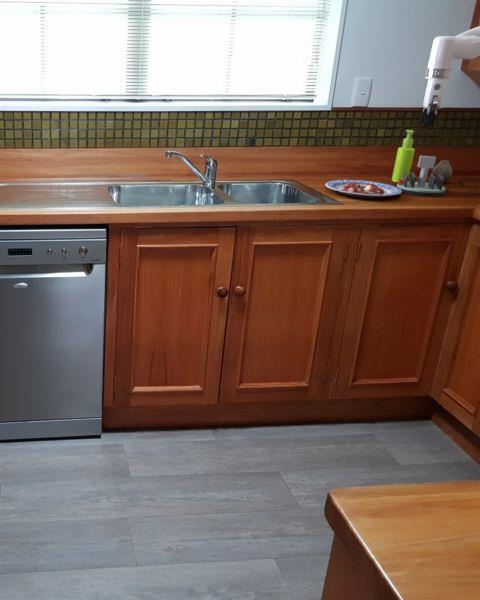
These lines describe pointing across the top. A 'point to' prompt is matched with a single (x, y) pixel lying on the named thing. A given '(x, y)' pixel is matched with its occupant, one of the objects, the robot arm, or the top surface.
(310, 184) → the top surface
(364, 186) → the ceramic plate
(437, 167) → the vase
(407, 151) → the soap dispenser
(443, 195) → the turntable base
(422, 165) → the dish rack
